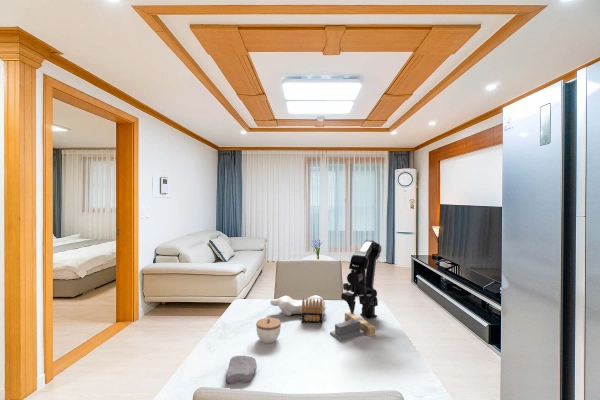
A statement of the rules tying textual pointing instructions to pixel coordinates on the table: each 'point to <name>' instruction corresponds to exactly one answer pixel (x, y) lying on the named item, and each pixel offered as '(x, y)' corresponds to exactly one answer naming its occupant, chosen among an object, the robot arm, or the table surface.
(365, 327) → the beam
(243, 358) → the stone block
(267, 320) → the lidded jar
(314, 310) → the ammunition clip
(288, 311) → the torso sculpture
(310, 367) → the table surface
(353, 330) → the grey stepped block
